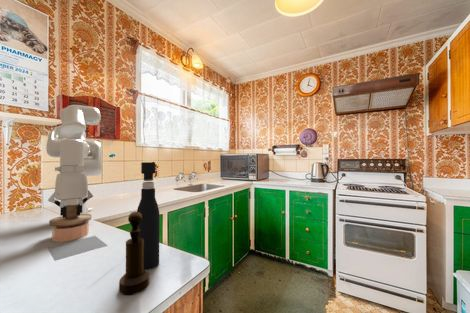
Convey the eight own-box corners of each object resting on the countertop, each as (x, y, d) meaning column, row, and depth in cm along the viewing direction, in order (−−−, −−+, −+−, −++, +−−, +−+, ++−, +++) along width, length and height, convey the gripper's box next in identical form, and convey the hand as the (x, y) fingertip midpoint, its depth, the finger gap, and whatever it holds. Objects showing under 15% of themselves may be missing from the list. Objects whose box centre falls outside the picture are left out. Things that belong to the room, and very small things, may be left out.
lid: (70, 216, 87) (70, 201, 87) (99, 216, 86) (99, 202, 86) (39, 225, 74) (39, 208, 74) (72, 226, 73) (72, 209, 73)
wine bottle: (163, 264, 59) (164, 162, 60) (140, 273, 55) (142, 162, 55) (153, 257, 64) (154, 162, 64) (131, 264, 59) (132, 162, 60)
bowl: (70, 231, 86) (70, 219, 86) (94, 232, 85) (95, 220, 85) (44, 242, 75) (44, 228, 75) (71, 243, 74) (72, 229, 74)
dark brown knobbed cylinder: (126, 278, 52) (127, 209, 52) (152, 277, 53) (153, 208, 53) (113, 296, 45) (114, 216, 46) (143, 294, 46) (144, 215, 46)
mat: (47, 248, 70) (47, 247, 70) (95, 236, 80) (95, 235, 80) (54, 262, 61) (54, 260, 61) (107, 246, 71) (107, 245, 71)
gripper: (42, 171, 72) (41, 222, 72) (98, 169, 83) (98, 214, 83) (44, 170, 78) (43, 217, 78) (96, 169, 89) (95, 210, 89)
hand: (71, 215), depth 80 cm, fingers closed on lid, 4 cm apart
